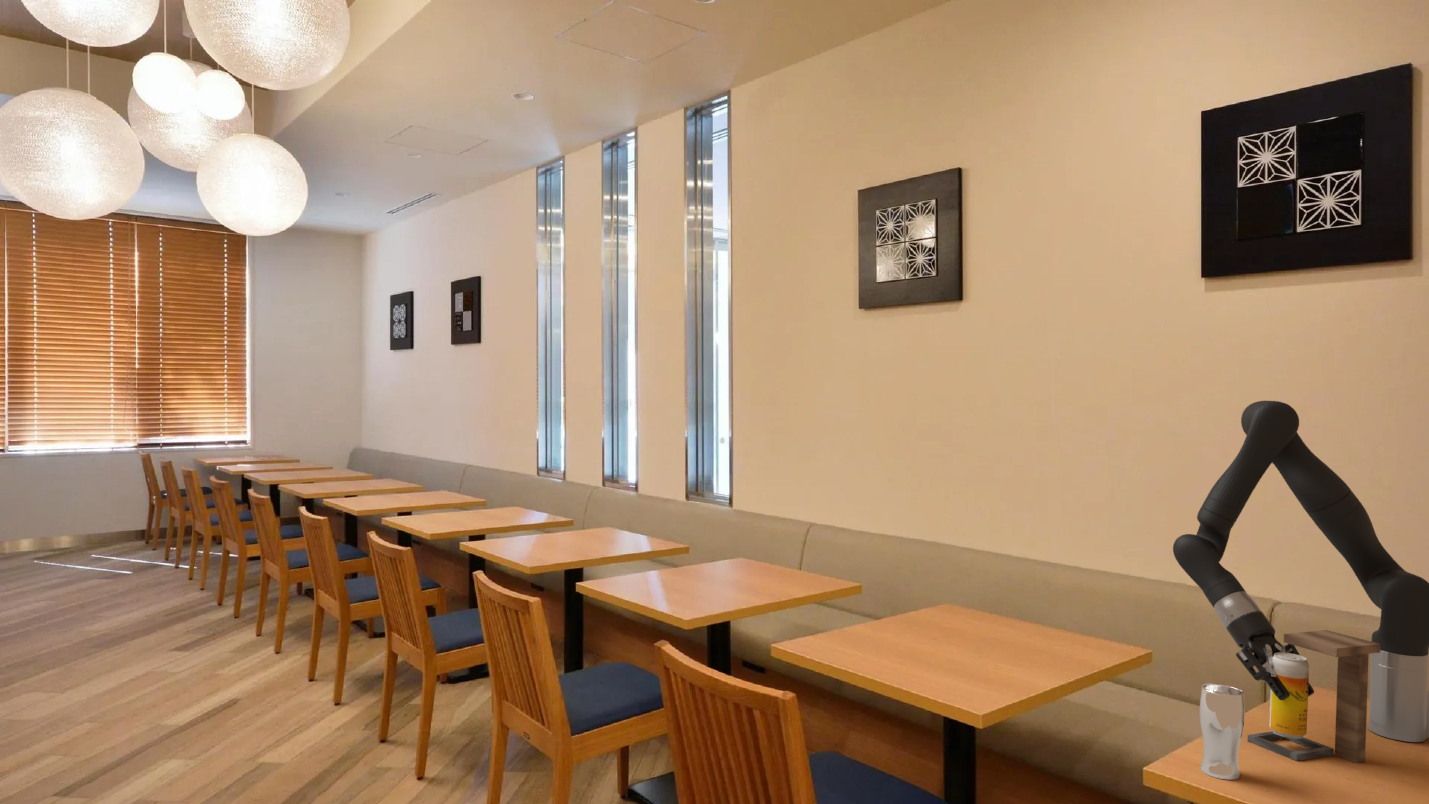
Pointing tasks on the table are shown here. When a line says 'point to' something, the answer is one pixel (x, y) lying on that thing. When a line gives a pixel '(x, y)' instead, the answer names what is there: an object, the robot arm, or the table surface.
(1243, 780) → the table surface
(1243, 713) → the beer glass
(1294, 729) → the beer can
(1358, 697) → the overhang bracket
